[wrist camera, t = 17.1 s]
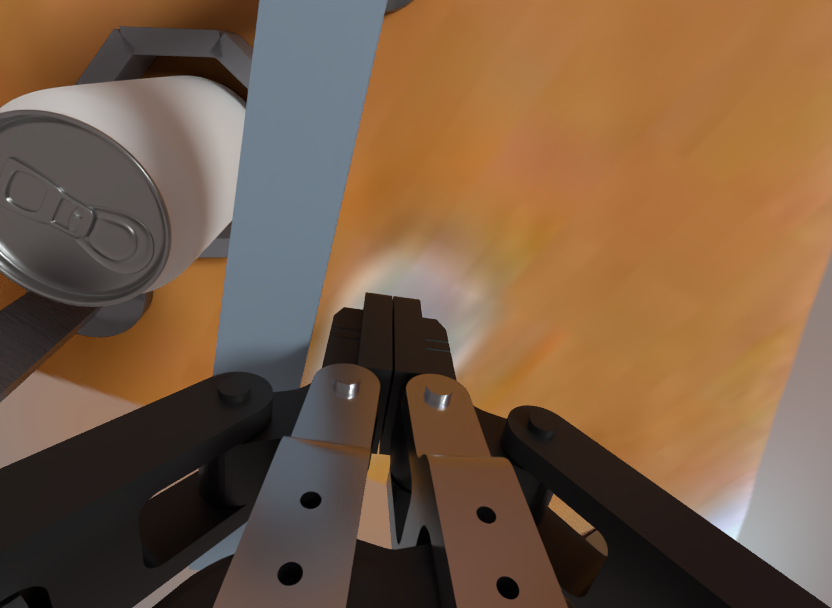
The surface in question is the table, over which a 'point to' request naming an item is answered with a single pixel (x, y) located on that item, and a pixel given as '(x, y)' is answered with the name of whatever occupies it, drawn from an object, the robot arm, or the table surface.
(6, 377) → the dark grey piece
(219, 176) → the can
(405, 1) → the pivot post
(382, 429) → the robot arm
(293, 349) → the swing arm
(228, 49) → the collar
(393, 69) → the table surface
